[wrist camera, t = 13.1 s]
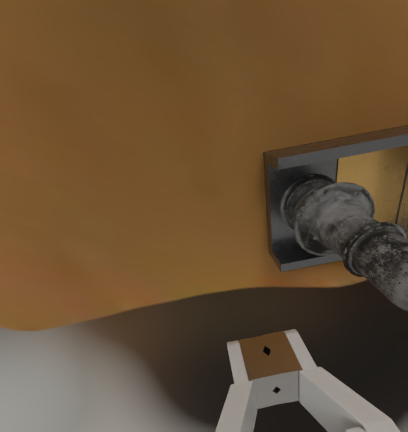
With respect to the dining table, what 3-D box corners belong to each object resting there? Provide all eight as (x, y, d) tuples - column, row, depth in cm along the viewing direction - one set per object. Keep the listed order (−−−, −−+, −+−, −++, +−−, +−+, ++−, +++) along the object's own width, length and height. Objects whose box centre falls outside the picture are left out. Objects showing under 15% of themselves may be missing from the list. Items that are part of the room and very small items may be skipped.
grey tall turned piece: (350, 168, 18) (592, 247, 7) (335, 231, 21) (500, 361, 10) (280, 172, 18) (422, 259, 7) (273, 235, 20) (371, 373, 10)
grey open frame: (269, 252, 22) (285, 279, 19) (263, 152, 18) (283, 161, 15) (395, 228, 22) (435, 250, 19) (418, 123, 18) (476, 124, 15)
